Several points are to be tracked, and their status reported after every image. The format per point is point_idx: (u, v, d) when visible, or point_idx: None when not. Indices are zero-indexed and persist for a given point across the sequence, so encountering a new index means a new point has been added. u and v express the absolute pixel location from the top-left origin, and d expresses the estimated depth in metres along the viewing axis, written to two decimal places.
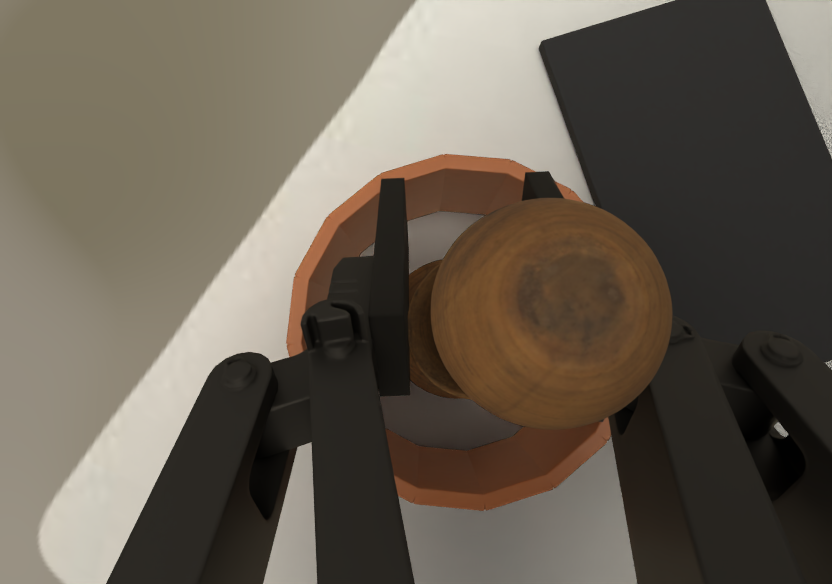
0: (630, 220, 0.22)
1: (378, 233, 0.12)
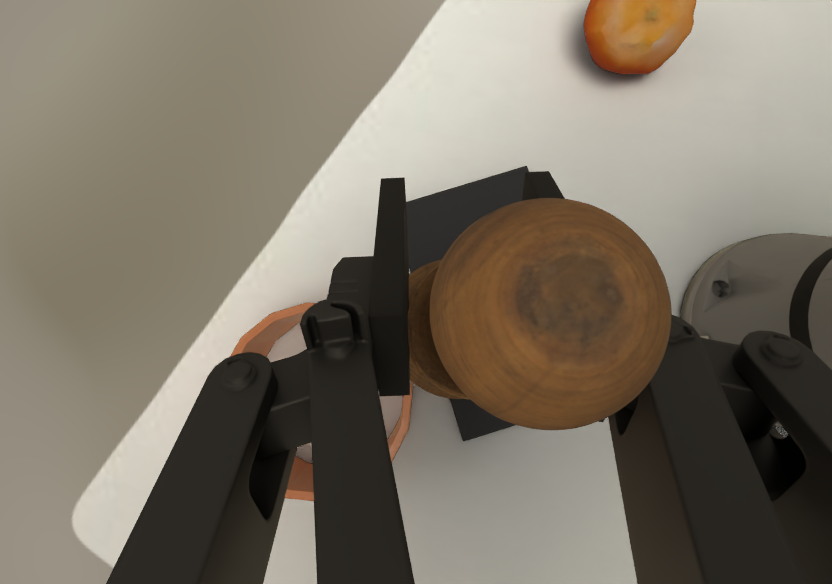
0: None
1: (378, 233, 0.12)
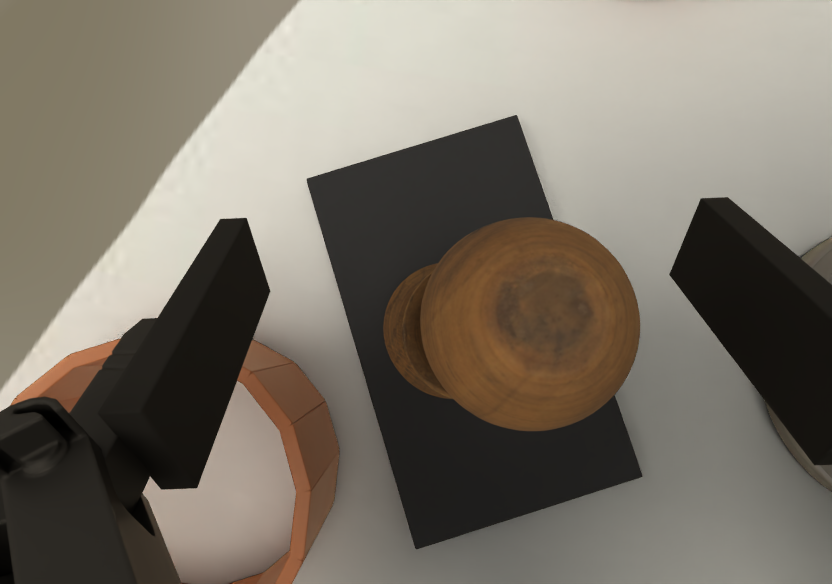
0: (382, 360, 0.23)
1: (176, 293, 0.10)
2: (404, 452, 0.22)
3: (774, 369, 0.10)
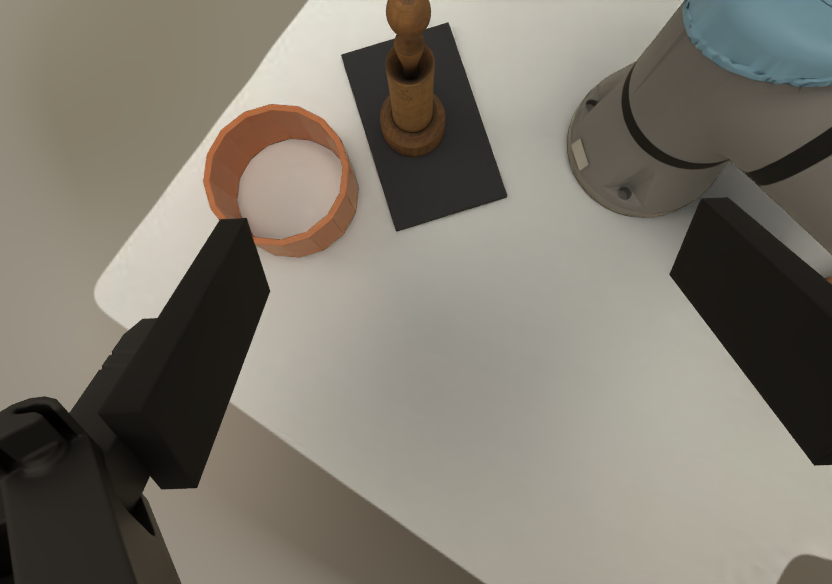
0: (379, 142, 0.46)
1: (176, 293, 0.10)
2: (390, 185, 0.46)
3: (774, 369, 0.10)
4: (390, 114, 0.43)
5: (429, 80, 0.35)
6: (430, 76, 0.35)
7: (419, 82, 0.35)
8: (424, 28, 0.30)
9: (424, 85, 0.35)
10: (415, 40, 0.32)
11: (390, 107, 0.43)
